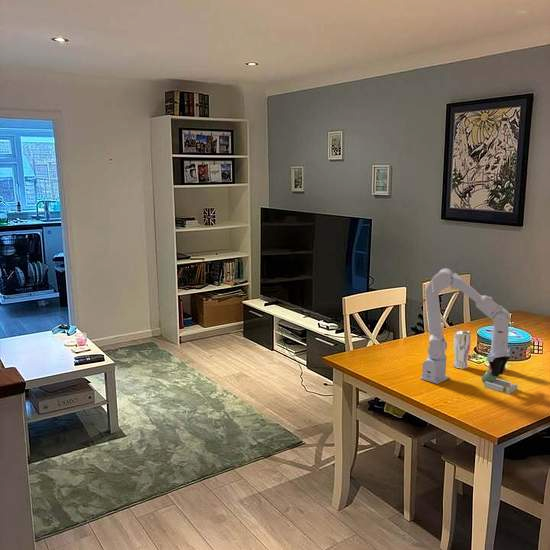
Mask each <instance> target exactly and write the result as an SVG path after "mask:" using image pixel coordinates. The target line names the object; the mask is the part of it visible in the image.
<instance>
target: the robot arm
mask: <svg viewBox="0 0 550 550" xmlns="http://www.w3.org/2000/svg"><path fill="white" fill-rule="evenodd" d="M449 287H450V289H452V290H459V291H461V293H463V294H464V295H466V296H467V297H468V298H470V299H471V300H473V301H474V302H475V307H476V308H477V309H478V310H480V311H481V312H482V313H484V315H485V316H487V317H488V318H489V319H492V323H493V327H492V330H491V343H490V345H491V346H490V351H489V354H488V355H487V356H486V361H487V362H488V363H489V364H490V366H491V370H492V375H493V376H496V377H497V378H498V377H499V376H500V375H501V376H502V375H503V373H504V372H503V370H504V367H505V368H506V365H507V363H508V361H509V360H510V355H511V347H508V343H509V342H508V341H509V332H510V331H509V328H510V325H509V324H510V322H511V321H510V319H511V316H510V312H509V311H508V310H507V308H504V307H503V306H502V305H499V304H498V303H497V302H496V301H494V300H493V297H492V296H490V295H489V296H488V295H481V294H480V293H479V292H478V291H477V290H476V289H475V288H474V287H473V286H472V285H470V284H469V283H468V282H467V281H466V280H464V278H462V277H461V276H460V275H459V274H458V273H456V272H454V271H453V270H452V269H450V268H448V267H446V268H441V269H440V270H439V271H438V272H436V273H435V275H433V277H432V278H431V279H430V281H429V283H428V285H427V287H426V288H425V301H426V311H427V320H428V328H429V329H428V330H429V331H428V332H429V337H428V338H429V339H428V343H429V345H428V348H427V353H428V354H427V357H426V359H425V360H424V361H423V363H422V371H421V372H422V373H421V376H420V377H419V379H420V380H424V381H427V382H430V383H432V384H433V383H434V384H437V385H438V384H440V383H442V382H444V381H446V380H448V379H450V378H451V377H450V376H448V375H447V374H446V373H447V357H448V356H447V355H446V350H447V349H448V343H447V341H446V339H445V335H444V333H443V326H442V316H441V306H440V297H439V294H440V293H442V290H445V289H447V288H449Z"/></svg>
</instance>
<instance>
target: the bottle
mask: <svg viewBox="0 0 550 550" xmlns="http://www.w3.org/2000/svg"><path fill="white" fill-rule="evenodd" d="M496 378H497V379H498V377H496V376H493V375H492V370H490V369H489V368H488V369H487V370H486V371H485V373H484V374H483V375H482V377H481V382H482V383H483V384H485V382H490V383H493V382H494V381H495V379H496ZM493 384H494V383H493Z"/></svg>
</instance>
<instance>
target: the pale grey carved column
mask: <svg viewBox="0 0 550 550" xmlns="http://www.w3.org/2000/svg"><path fill="white" fill-rule="evenodd" d="M471 346H472V332H471V331H468V330H461V329H460V330H455V331H454V335H453V352H454V359H453V363H452V367H454V368H455V367H456V369H458V368H460V369H459V370H467V369H468V368H469V364H468V363H469V361H468V359H469V356H470V355H469V354H470V351H471ZM466 368H467V369H466Z"/></svg>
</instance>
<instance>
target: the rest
mask: <svg viewBox="0 0 550 550" xmlns="http://www.w3.org/2000/svg"><path fill="white" fill-rule="evenodd" d="M483 387H484V388H487V389H490V390H493V391H497V392H500V393H503V392H504V390H505V389H504V388H506V392H505V394H506V395H510V394H512V393H513V392H515V391H517V390H518V383H513V384H512V382H510V381H507V380H504V379H500V378H498V377H497V378H496V379H495V381H494V382H493V383H490V382H485V383H484V386H483Z"/></svg>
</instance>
